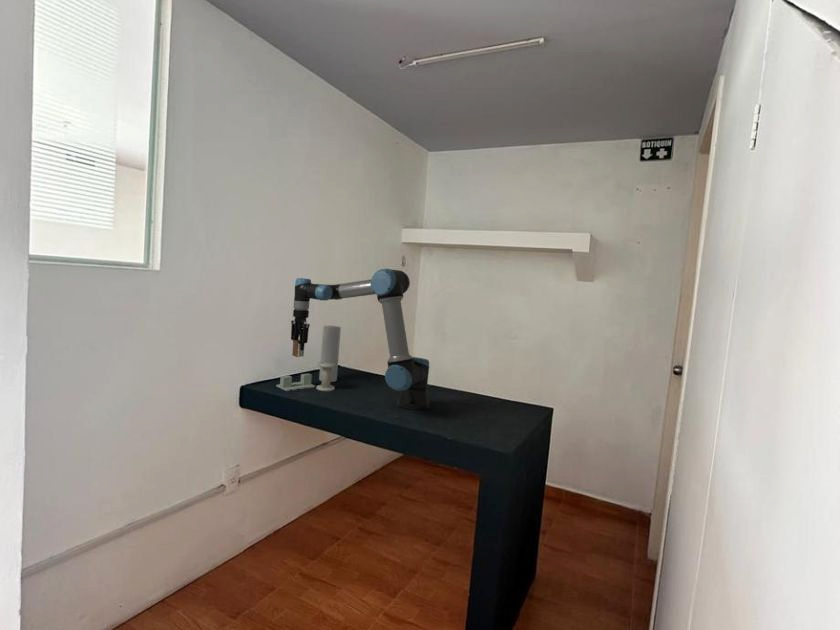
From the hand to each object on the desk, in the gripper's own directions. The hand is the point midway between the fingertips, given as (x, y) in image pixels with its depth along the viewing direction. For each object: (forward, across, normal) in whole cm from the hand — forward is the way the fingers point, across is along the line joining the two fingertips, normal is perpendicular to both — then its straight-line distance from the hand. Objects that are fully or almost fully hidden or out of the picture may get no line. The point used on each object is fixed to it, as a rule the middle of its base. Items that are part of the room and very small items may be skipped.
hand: (297, 355), depth 224 cm
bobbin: (+16, -10, -11) cm, 22 cm away
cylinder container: (+16, +5, -23) cm, 29 cm away
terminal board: (+16, 0, 0) cm, 16 cm away
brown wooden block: (0, 0, 0) cm, 0 cm away
